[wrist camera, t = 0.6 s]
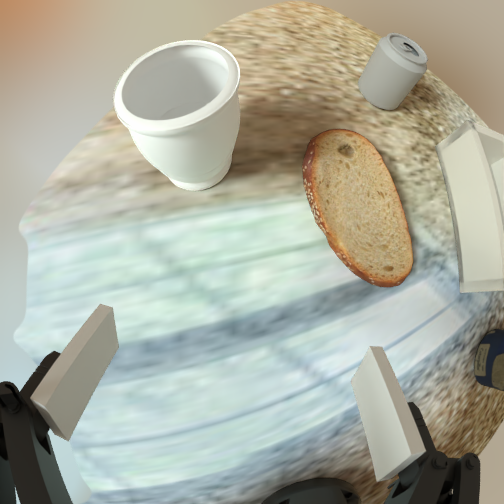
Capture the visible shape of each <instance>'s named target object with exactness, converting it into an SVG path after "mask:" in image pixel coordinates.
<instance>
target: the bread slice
mask: <svg viewBox="0 0 504 504" xmlns="http://www.w3.org/2000/svg"><path fill="white" fill-rule="evenodd" d="M302 170H303V179H304V188H305V191H306V195H307V199H308V201H309V204H310V207H311V211H312V213H313V215H314V218H315V222H316V223H317V225H318V226H319V227H320V229H321V230H322V231H323V232H324V234H325V235H326V237H327V240H328V243H329V245H330V247H331V248H332V249H333V251H334V252H335V253H336V255H337V256H338V258H339V259H340V260H341V261H342V262H343V263H344V264H345V265H346V266H347V267H348V268H349V269H350V270H351V271H352V272H353V273H354V274H355V275H357V276H358V277H360V278H361V279H363V280H365V281H367V282H368V283H370V284H372V285H376V286H380V287H393V286H398V285H400V284H401V283H402V282H403V281H404V280H405V278H406V277H407V276H408V274H409V273H410V271H411V268H412V265H413V252H412V242H411V237H410V234H409V231H408V223H407V221H406V217H405V213H404V210H403V207H402V203H401V200H400V198H399V194H398V193H397V190H396V186H395V185H394V182H393V179H392V177H391V175H390V172H389V171H388V168H387V167H386V165H385V163H384V162H383V159H382V157H381V155H380V154H379V152H378V151H377V150H376V148H375V147H374V145H373V144H372V143H371V142H370V141H369V140H368V139H366V138H365V137H363V136H362V135H360V134H358V133H356V132H353V131H350V130H346V129H331V130H327V131H325V132H322V133H321V134H319V135H317V136H315V137H314V138H313V139H311V140H310V142H309V145H308V147H307V151H306V154H305V157H304V161H303V165H302Z"/></svg>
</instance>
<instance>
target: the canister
mask: <svg viewBox="0 0 504 504" xmlns="http://www.w3.org/2000/svg"><path fill="white" fill-rule="evenodd" d="M474 374H475V377H476V380H477V381H478V382H479V383H480V384H482V385H484V386H488V387H491V388H494V389H498V390H501V391H504V330H502V329H495V330H492V331H490V332H489V333H488V334H487V335H486V336H485V337H484V339H483V340H482V342H481V344H480V345H479V348H478V350H477V354H476V357H475V362H474Z"/></svg>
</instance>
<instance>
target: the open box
mask: <svg viewBox="0 0 504 504" xmlns="http://www.w3.org/2000/svg"><path fill="white" fill-rule="evenodd" d="M435 147H436V151H437V154H438V157H439V161H440V165H441V168H442V172H443V176H444V180H445V184H446V189H447V193H448V198H449V203H450V208H451V213H452V219H453V225H454V232H455V239H456V247H457V257H458V268H459V283H460V293H470V292H487V291H501V290H504V135H502V134H500V133H497V132H495V131H493V130H491V129H488V128H486V127H484V126H481V125H479V124H476V123H474V122H471V121H469V120H467V121H465V122H464V123H463V124H462V125H461V126H459V127H458V128H457V129H456V130H455V131H453V132H452V133H451V134H450V135H449V136H447V137H446V138H445V139H444V140H442V141H441V142H440V143H439V144H438V145H436V146H435Z"/></svg>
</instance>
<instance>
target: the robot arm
mask: <svg viewBox="0 0 504 504" xmlns="http://www.w3.org/2000/svg"><path fill="white" fill-rule="evenodd" d="M118 348H119V344H118V339H117V333H116V326H115V320H114V313H113V307H109V306H105V305H102V304H100V305H99V306H98V307H97V309H96V310H95V311H94V312H93V313H92V315H91V316H90V317H89V318H88V320H87V321H86V322H85V323H84V325H83V326H82V327H81V328H80V330H79V331H78V332H77V333H76V335H75V336H74V337H73V339H72V340H71V341H70V342H69V344H68V345H67V346H66V348H65V349H64V350H63V352H62V353H61V354H60V353H58V352H56V351H53V352H52V353H50V354H49V355H47V356H46V357H45V358H44V359H43V361H42V362H41V363H40V366H38V367H37V369H36V371H35V372H34V373H33V374H32V375H31V377H30V378H29V380H28V381H27V382H26V384H25V385H24V387H23V388H22V390H21V391H20V392H19V390H18V388H17V387H16V386H15V385H14V384H13V383H11V382H8V381H4V382H1V383H0V504H16V494H15V487H16V491H17V494H18V497H19V500H20V503H21V504H73V503H72V501H71V498H70V496H69V494H68V491H67V489H66V486H65V484H64V481H63V478H62V476H61V473H60V471H59V467H58V464H57V461H56V458H55V455H54V451H53V448H52V445H51V441H50V437H49V435H48V431H49V429H51V430H52V431H53V433H54V434H55V435H57V436H59V437H61V438H63V439H65V440H67V441H69V440H70V438H71V435H72V433H73V431H74V429H75V427H76V425H77V423H78V421H79V419H80V417H81V415H82V413H83V412H84V410H85V408H86V406H87V404H88V402H89V400H90V398H91V396H92V394H93V393H94V391H95V389H96V387H97V385H98V383H99V382H100V380H101V378H102V376H103V374H104V373H105V371H106V369H107V367H108V365H109V364H110V362H111V360H112V358H113V357H114V355H115V353H116V352H117V350H118ZM351 384H352V387H353V391H354V394H355V398H356V401H357V405H358V408H359V412H360V416H361V419H362V423H363V427H364V431H365V434H366V438H367V442H368V446H369V450H370V454H371V458H372V463H373V467H374V471H375V476H376V480H377V482H379V481H384V480H388V479H392V478H393V477H394V476H396V475H397V474H398V475H399V479H397V480H396V481H395V482H393V483H392V484H390V485H389V486H388V489H389V488H391V487H392V486H393V488H392V490H391V492H390V494H389V496H388V497H387V499H386V501H385V502H384V504H479V492H480V460H479V459H478V456H476V455H475V454H474V453H467V454H465V455H464V456H462V457H461V458H448V457H447V456H446V455H445V454H444V453H442V452H439V451H436V449H435V446H434V444H433V441H432V439H431V436H430V434H429V431H428V429H427V426H425V425H426V424H425V421H424V419H423V417H422V414H421V412H420V410H419V408H418V407H417V406H416V405H415V404H414V403H413V402H409V403H407V401H406V399H405V397H404V394H403V392H402V390H401V387H400V385H399V383H398V380H397V378H396V376H395V374H394V372H393V369H392V367H391V365H390V363H389V361H388V359H387V356H386V354H385V352H384V350H383V348H382V347H372V346H370V347H369V349H368V351H367V353H366V355H365V357H364V359H363V360H362V362H361V364H360V366H359V368H358V370H357V371H356V373H355V375H354V377H353V378H352V380H351ZM452 489H453V494H452ZM262 504H361V499H360V496H359V495H358V493H357V491H356V490H355V488H354V487H353V486H352V485H351V484H349V483H348V482H346V481H343V480H339V479H332V478H320V479H312V480H306V481H302V482H298V483H295V484H292V485H290V486H287V487H285V488H283V489H281V490H279V491H277V492H275V493H274V494H272V495H271V496H269V497H268V498H267V499H266V500H265V501H264V502H263V503H262Z"/></svg>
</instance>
